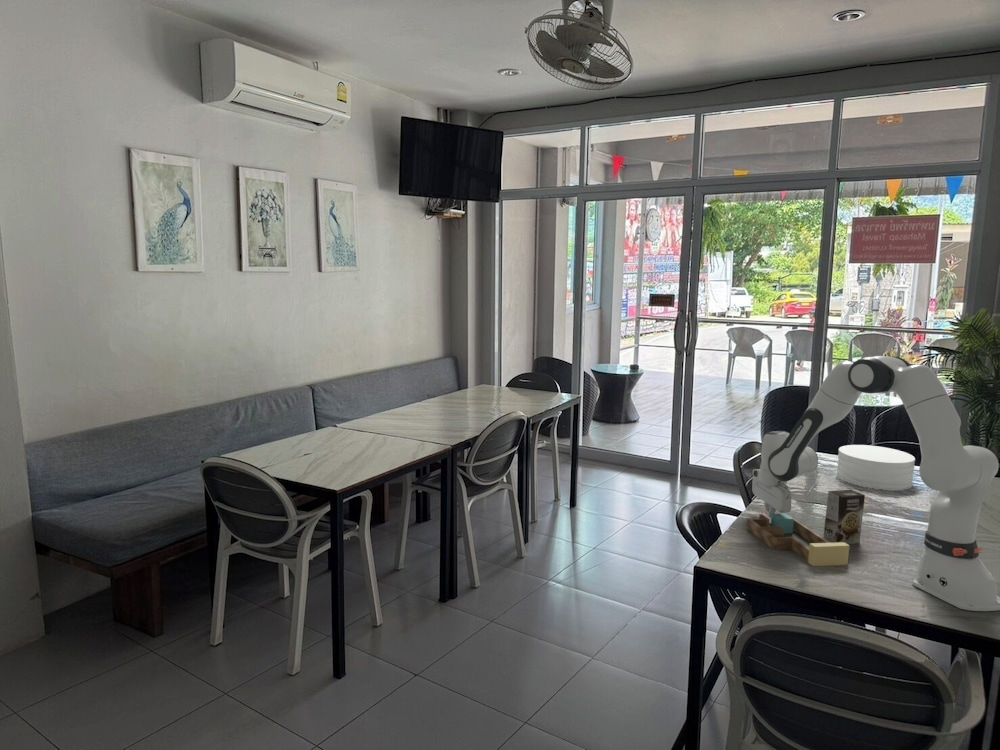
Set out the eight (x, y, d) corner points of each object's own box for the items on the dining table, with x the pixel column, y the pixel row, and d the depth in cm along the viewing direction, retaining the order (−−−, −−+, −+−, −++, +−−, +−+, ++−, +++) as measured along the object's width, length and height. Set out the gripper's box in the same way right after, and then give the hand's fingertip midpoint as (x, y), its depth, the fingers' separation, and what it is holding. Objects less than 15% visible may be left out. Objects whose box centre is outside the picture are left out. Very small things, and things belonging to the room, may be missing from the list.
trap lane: (840, 561, 208) (841, 550, 207) (790, 563, 206) (791, 552, 205) (786, 523, 238) (786, 513, 238) (741, 524, 236) (742, 514, 236)
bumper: (847, 564, 206) (849, 545, 205) (812, 566, 204) (814, 546, 203) (842, 561, 208) (844, 542, 207) (807, 562, 207) (809, 543, 206)
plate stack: (821, 472, 300) (823, 446, 298) (872, 468, 308) (875, 443, 306) (873, 493, 273) (876, 465, 272) (928, 487, 282) (931, 460, 280)
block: (792, 533, 230) (793, 518, 229) (778, 533, 229) (779, 519, 228) (784, 527, 235) (785, 513, 234) (770, 528, 234) (771, 513, 233)
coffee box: (836, 546, 220) (841, 496, 217) (822, 538, 226) (827, 490, 223) (860, 543, 222) (865, 494, 220) (845, 535, 228) (850, 488, 226)
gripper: (798, 486, 227) (794, 527, 230) (766, 468, 247) (763, 505, 250) (780, 487, 227) (776, 527, 229) (750, 468, 247) (747, 506, 249)
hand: (769, 516), depth 239 cm, fingers closed
